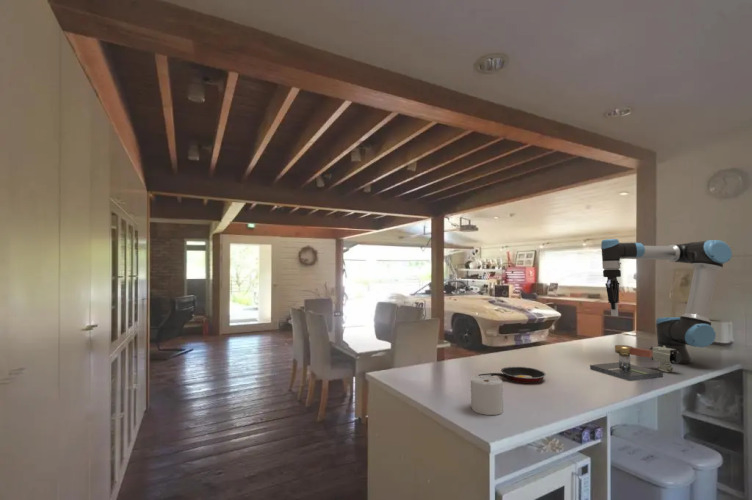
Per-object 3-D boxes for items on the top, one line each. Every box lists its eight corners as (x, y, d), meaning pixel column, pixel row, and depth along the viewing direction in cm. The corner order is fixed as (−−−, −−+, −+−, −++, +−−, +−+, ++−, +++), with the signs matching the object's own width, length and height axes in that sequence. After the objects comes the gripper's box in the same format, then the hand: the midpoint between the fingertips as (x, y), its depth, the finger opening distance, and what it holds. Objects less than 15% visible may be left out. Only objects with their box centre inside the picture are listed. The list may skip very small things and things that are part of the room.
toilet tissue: (478, 416, 116) (477, 385, 117) (465, 403, 128) (464, 375, 129) (509, 414, 117) (508, 384, 118) (493, 402, 129) (492, 374, 130)
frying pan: (556, 383, 152) (556, 374, 152) (492, 390, 143) (491, 380, 143) (526, 371, 170) (526, 363, 170) (467, 377, 161) (467, 369, 161)
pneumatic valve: (655, 367, 174) (653, 343, 175) (683, 374, 163) (681, 347, 164) (648, 369, 172) (646, 344, 173) (675, 375, 161) (673, 348, 162)
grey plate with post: (621, 365, 178) (620, 347, 179) (663, 376, 159) (661, 356, 160) (590, 369, 172) (589, 350, 173) (629, 380, 153) (628, 359, 154)
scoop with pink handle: (612, 352, 168) (611, 345, 168) (619, 350, 171) (619, 344, 171) (647, 358, 155) (647, 351, 155) (655, 356, 159) (654, 349, 159)
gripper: (615, 269, 172) (619, 317, 171) (624, 269, 181) (627, 315, 179) (598, 269, 178) (601, 316, 176) (607, 269, 186) (610, 314, 185)
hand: (614, 315), depth 178 cm, fingers closed
